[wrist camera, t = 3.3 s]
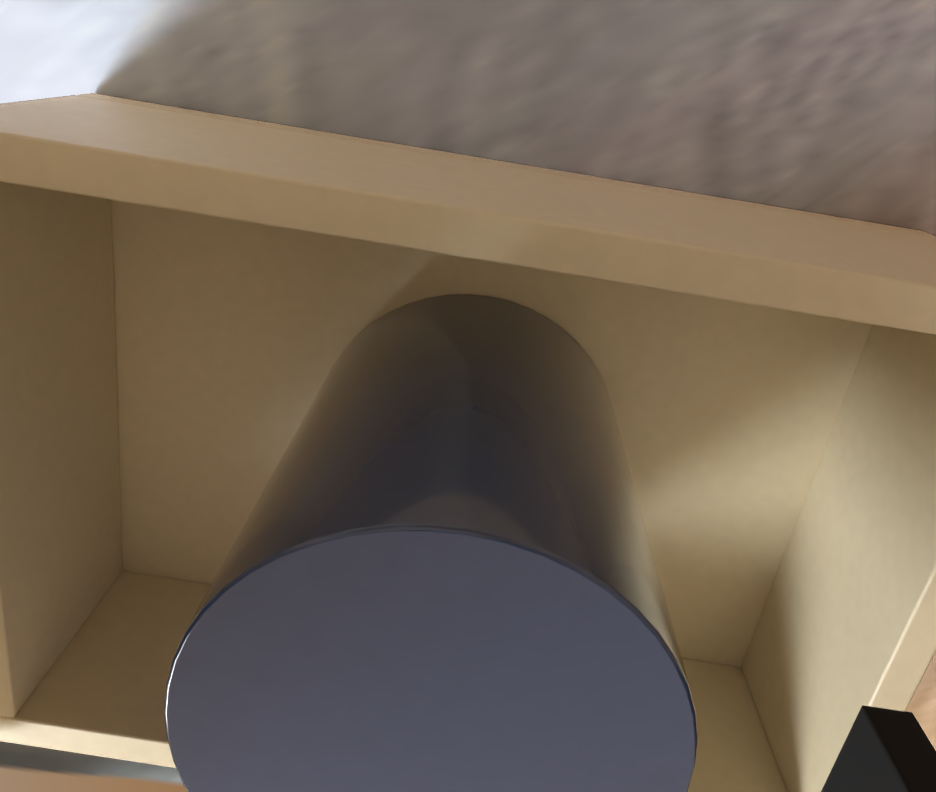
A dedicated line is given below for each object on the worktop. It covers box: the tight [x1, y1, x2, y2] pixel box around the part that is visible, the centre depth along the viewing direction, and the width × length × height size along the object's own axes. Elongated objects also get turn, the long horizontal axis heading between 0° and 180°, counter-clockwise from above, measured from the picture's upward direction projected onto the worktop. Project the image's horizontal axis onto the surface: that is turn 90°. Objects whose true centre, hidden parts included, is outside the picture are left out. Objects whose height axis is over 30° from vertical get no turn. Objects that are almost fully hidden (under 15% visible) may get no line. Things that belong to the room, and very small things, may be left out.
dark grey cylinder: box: [164, 294, 698, 792], centre depth 16 cm, size 8×8×10 cm
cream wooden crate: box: [0, 93, 936, 792], centre depth 18 cm, size 20×14×6 cm
